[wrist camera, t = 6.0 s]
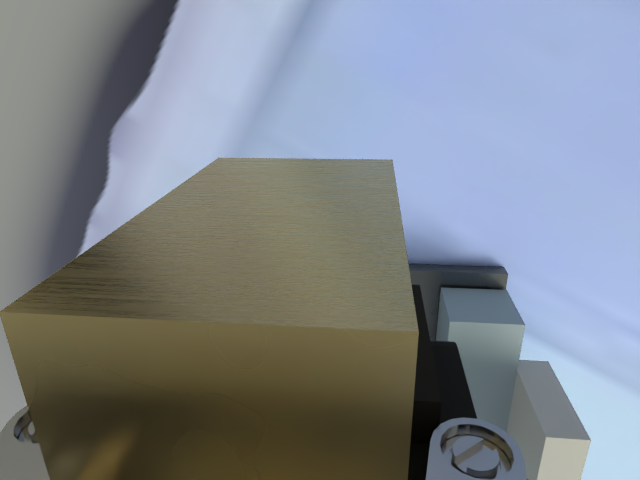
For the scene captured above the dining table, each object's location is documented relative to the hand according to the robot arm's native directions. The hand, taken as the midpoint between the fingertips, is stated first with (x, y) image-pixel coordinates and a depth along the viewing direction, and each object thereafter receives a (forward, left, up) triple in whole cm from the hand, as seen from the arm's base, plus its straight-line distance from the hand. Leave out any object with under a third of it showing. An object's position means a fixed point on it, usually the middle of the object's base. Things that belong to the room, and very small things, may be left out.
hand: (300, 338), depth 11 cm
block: (0, 0, -1) cm, 1 cm away
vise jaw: (-14, -9, -18) cm, 24 cm away
